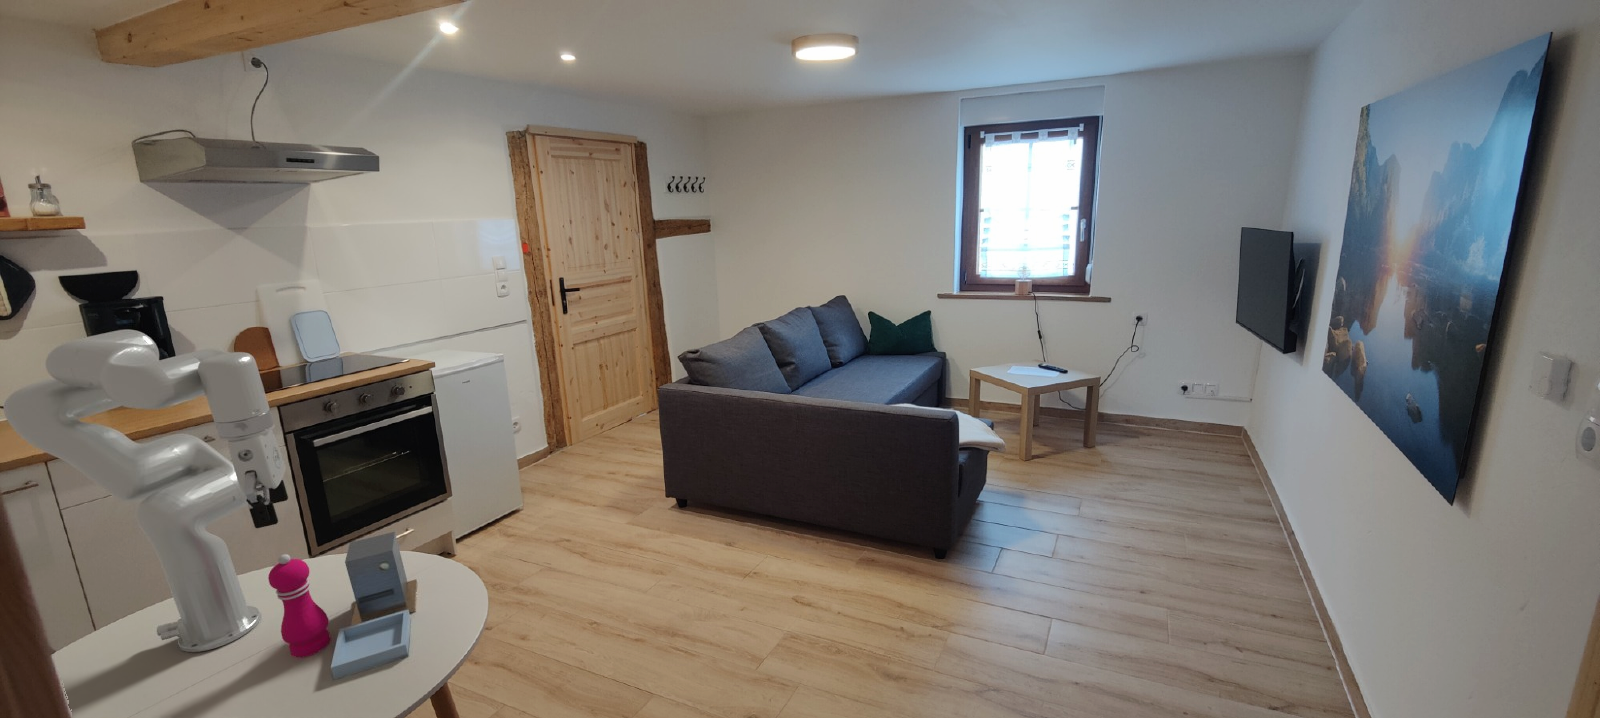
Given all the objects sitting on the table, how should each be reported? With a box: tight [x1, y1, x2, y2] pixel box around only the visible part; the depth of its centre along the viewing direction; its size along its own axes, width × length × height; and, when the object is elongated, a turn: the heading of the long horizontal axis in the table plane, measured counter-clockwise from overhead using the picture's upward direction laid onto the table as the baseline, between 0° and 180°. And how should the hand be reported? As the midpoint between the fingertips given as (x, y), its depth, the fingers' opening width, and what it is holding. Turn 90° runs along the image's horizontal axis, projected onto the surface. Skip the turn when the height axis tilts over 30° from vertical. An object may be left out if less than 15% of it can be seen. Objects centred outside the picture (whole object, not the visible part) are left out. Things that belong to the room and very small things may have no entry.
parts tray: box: [330, 610, 412, 680], centre depth 126 cm, size 12×12×3 cm
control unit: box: [344, 531, 418, 626], centre depth 137 cm, size 11×11×14 cm
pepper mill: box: [268, 553, 332, 659], centre depth 125 cm, size 7×7×20 cm
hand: (272, 513), depth 120 cm, fingers open, 9 cm apart
